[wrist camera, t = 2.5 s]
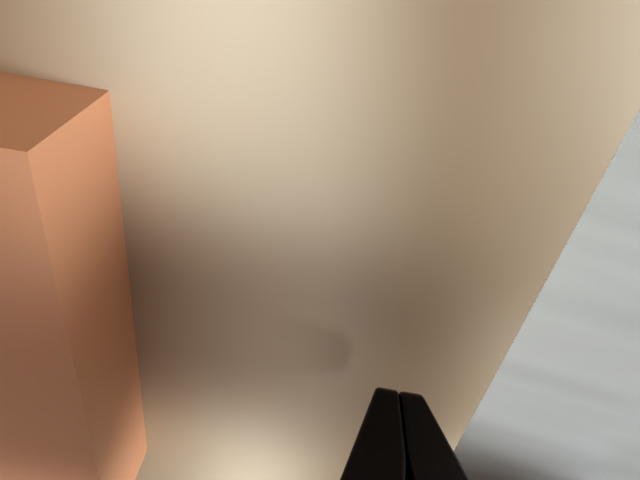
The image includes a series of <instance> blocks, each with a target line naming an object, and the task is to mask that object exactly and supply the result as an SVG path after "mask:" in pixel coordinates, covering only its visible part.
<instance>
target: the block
mask: <svg viewBox="0 0 640 480" xmlns="http://www.w3.org/2000/svg"><path fill="white" fill-rule="evenodd" d="M146 452H147V444H146V435H145V425H144V416H143V406H142V396H141V387H140V377H139V368H138V358H137V349H136V339H135V330H134V320H133V311H132V301H131V292H130V282H129V273H128V263H127V254H126V244H125V235H124V225H123V216H122V206H121V197H120V187H119V178H118V168H117V158H116V149H115V139H114V130H113V120H112V111H111V101H110V92H109V90H103V89H97V88H91V87H86V86H80V85H74V84H69V83H63V82H57V81H51V80H46V79H40V78H34V77H29V76H23V75H17V74H11V73H6V72H0V480H135V479H136V476H137V474H138V471H139V469H140V466H141V464H142V462H143V459H144V457H145V454H146Z"/></svg>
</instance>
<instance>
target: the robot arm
mask: <svg viewBox="0 0 640 480" xmlns="http://www.w3.org/2000/svg"><path fill="white" fill-rule="evenodd" d="M340 480H469V479H468V477H467V475H466V473H465V471H464V469H463V468H462V466H461V464H460V462H459V460H458V459H457V457H456V455H455V453H454V451H453V449H452V448H451V446H450V444H449V442H448V440H447V439H446V437H445V435H444V433H443V431H442V429H441V428H440V426H439V424H438V422H437V420H436V418H435V417H434V415H433V413H432V411H431V409H430V408H429V406H428V404H427V402H426V400H425V399H424V397H423V396H422V395H420V394H416V393H410V392H404V391H401V392H399V393H398V392H397V391H396V390H393V389H387V388H381V387H378V388H376V389H375V391H374V393H373V396H372V398H371V401H370V404H369V406H368V409H367V411H366V414H365V416H364V419H363V422H362V424H361V427H360V429H359V432H358V434H357V437H356V440H355V442H354V445H353V447H352V450H351V452H350V455H349V458H348V460H347V463H346V465H345V468H344V470H343V473H342V476H341V478H340Z"/></svg>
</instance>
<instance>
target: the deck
mask: <svg viewBox="0 0 640 480" xmlns="http://www.w3.org/2000/svg"><path fill="white" fill-rule="evenodd" d="M0 72H6V73H11V74H17V75H23V76H29V77H34V78H40V79H46V80H51V81H57V82H63V83H69V84H74V85H80V86H86V87H91V88H97V89H103V90H109V92H110V101H111V111H112V120H113V130H114V139H115V149H116V158H117V168H118V178H119V187H120V197H121V206H122V216H123V225H124V235H125V244H126V254H127V263H128V273H129V282H130V292H131V301H132V311H133V320H134V330H135V339H136V349H137V358H138V368H139V377H140V387H141V396H142V406H143V416H144V425H145V435H146V444H147V452H146V454H145V457H144V459H143V462H142V464H141V466H140V469H139V471H138V474H137V476H136V479H135V480H340V478H341V476H342V473H343V470H344V468H345V465H346V463H347V460H348V458H349V455H350V452H351V450H352V447H353V445H354V442H355V440H356V437H357V434H358V432H359V429H360V427H361V424H362V422H363V419H364V416H365V414H366V411H367V409H368V406H369V404H370V401H371V398H372V396H373V393H374V391H375V389H376V388H378V387H381V388H387V389H393V390H396V391H397V392H398V393H399V392H401V391H404V392H410V393H416V394H420V395H422V396H423V397H424V399H425V400H426V402H427V404H428V406H429V408H430V409H431V411H432V413H433V415H434V417H435V418H436V420H437V422H438V424H439V426H440V428H441V429H442V431H443V433H444V435H445V437H446V439H447V440H448V442H449V444H450V446H451V448H452V449H453V451H454V450H455V448H456V446H457V444H458V442H459V441H460V439H461V437H462V435H463V433H464V431H465V430H466V428H467V426H468V424H469V422H470V420H471V418H472V417H473V415H474V413H475V411H476V409H477V407H478V406H479V404H480V402H481V400H482V398H483V396H484V394H485V393H486V391H487V389H488V387H489V385H490V383H491V382H492V380H493V378H494V376H495V374H496V372H497V370H498V369H499V367H500V365H501V363H502V361H503V359H504V358H505V356H506V354H507V352H508V350H509V348H510V346H511V345H512V343H513V341H514V339H515V337H516V335H517V334H518V332H519V330H520V328H521V326H522V324H523V323H524V321H525V319H526V317H527V315H528V313H529V311H530V310H531V308H532V306H533V304H534V302H535V300H536V299H537V297H538V295H539V293H540V291H541V289H542V287H543V286H544V284H545V282H546V280H547V278H548V276H549V275H550V273H551V271H552V269H553V267H554V265H555V263H556V262H557V260H558V258H559V256H560V254H561V252H562V251H563V249H564V247H565V245H566V243H567V241H568V239H569V238H570V236H571V234H572V232H573V230H574V228H575V227H576V225H577V223H578V221H579V219H580V217H581V215H582V214H583V212H584V210H585V208H586V206H587V204H588V203H589V201H590V199H591V197H592V195H593V193H594V191H595V190H596V188H597V186H598V184H599V182H600V180H601V179H602V177H603V175H604V173H605V171H606V169H607V168H608V166H609V164H610V162H611V160H612V158H613V156H614V155H615V153H616V151H617V149H618V147H619V145H620V144H621V142H622V140H623V138H624V136H625V134H626V132H627V131H628V129H629V127H630V125H631V123H632V121H633V120H634V118H635V116H636V114H637V112H638V110H639V108H640V0H0Z"/></svg>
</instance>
